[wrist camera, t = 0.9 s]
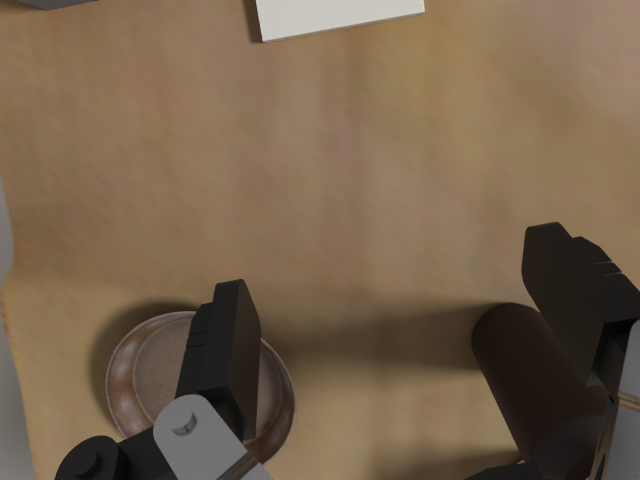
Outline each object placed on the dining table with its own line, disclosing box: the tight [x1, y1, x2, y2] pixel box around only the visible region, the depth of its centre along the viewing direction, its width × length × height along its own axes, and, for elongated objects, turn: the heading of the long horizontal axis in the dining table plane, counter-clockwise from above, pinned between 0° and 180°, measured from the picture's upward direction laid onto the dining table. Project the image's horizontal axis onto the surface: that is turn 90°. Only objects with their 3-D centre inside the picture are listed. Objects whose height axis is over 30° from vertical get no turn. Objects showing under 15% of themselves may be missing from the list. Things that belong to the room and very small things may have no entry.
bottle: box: [472, 304, 609, 480], centre depth 30 cm, size 7×7×20 cm
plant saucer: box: [105, 311, 297, 466], centre depth 43 cm, size 18×18×3 cm
